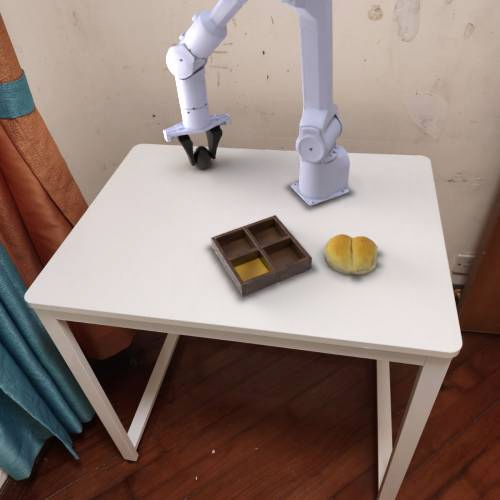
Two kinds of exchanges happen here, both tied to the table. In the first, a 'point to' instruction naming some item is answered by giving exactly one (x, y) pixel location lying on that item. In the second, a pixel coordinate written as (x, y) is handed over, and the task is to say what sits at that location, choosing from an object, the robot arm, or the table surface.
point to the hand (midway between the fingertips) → (202, 160)
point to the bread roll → (351, 254)
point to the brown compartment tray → (260, 254)
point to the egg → (202, 157)
